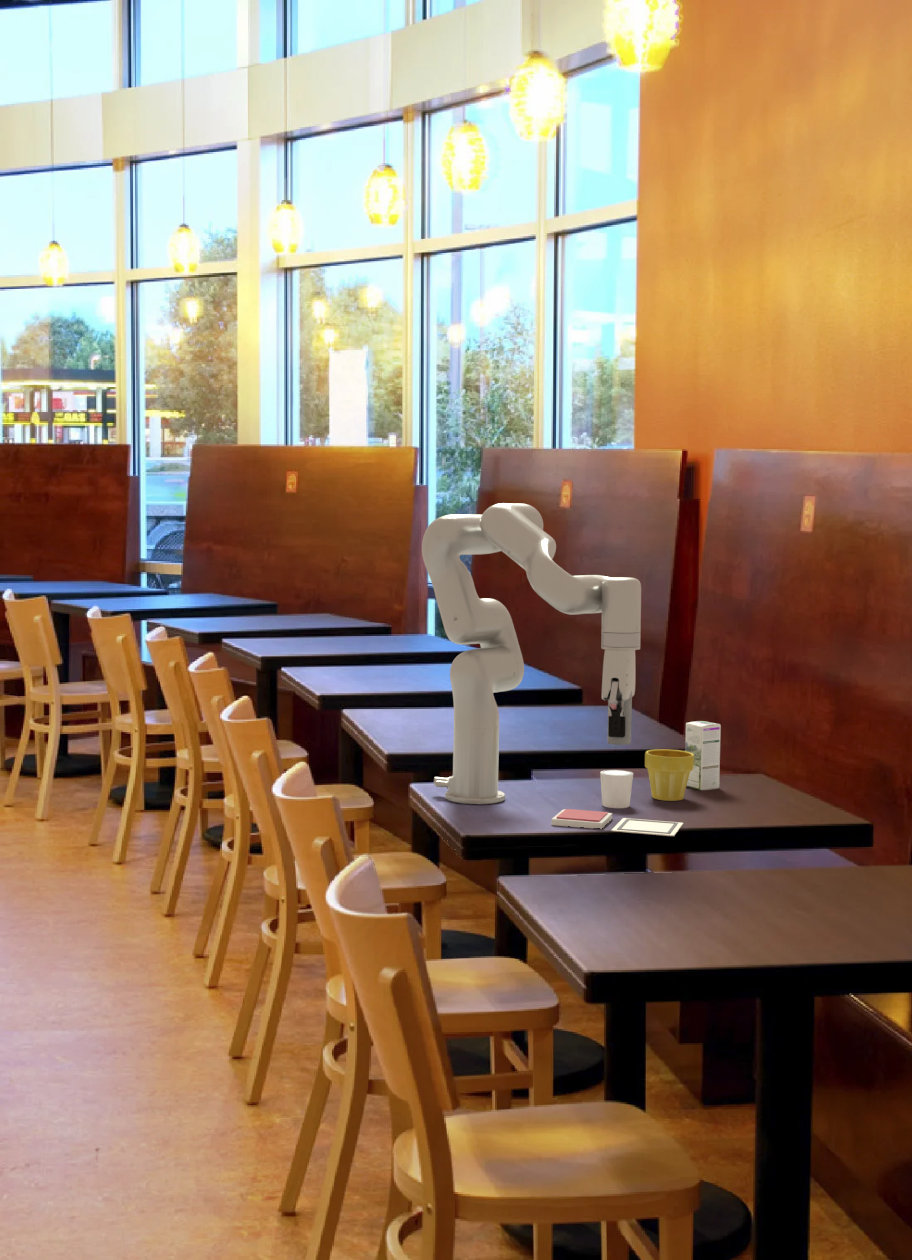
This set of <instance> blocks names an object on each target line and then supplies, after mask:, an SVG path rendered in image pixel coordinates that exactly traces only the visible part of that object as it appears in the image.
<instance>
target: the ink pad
mask: <svg viewBox="0 0 912 1260" xmlns="http://www.w3.org/2000/svg"><path fill="white" fill-rule="evenodd" d="M611 819H612V820H613V812H608V811H598V810H586V809H585V810H584V809H571V808H565V809H562V810H560V811H559V812H558V813H557V814H556V815H555V816H553V817H552V818H551V822H550V823H551V824H550V825H551V826H558V827H568V826H570V827H571V828H580V827H584V828H583V829H593V828H600V829H599V830H603V829H604V828H605V827H606V826H607V825H608V824H609V823H610V822H611V821H612V820H611ZM609 821H610V822H609ZM607 823H608V824H607ZM606 824H607V825H606ZM605 825H606V826H605ZM570 827H569V828H570ZM602 828H603V829H602Z"/></svg>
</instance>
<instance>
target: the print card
mask: <svg viewBox="0 0 912 1260" xmlns="http://www.w3.org/2000/svg"><path fill="white" fill-rule="evenodd" d="M683 825H684V822H681V821H680V822H677V821H666V820H665V821H664V820H655V819H654V820H652V819H640V818H628V817H622V818H621V820H620V821H619V822H617V823H616V824H615V826H614V827H613V828H612V829H611V830H610V831H611V832H616V833H617V832H618V833H629V834H640V835H642V834H643V835H653V836H655V835H656V836H663V837H665V836H666V837H675V835H676V834H677V833H678V832H679V831H680V829H681V828H682V826H683Z"/></svg>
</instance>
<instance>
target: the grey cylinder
mask: <svg viewBox="0 0 912 1260" xmlns="http://www.w3.org/2000/svg"><path fill="white" fill-rule="evenodd" d="M609 696H610V691H609ZM609 700H610V697H608V700H607V703H608V704H607V723H608V722H609ZM617 700H622V698H621V697H618V698H617ZM632 701H633V697H632V691H631V694H630V698H629V699H628V700H626V701H625V705H624V717H625V737H623V738H621V737H609V736H608V735H607V739H606V740H607V744H609V745H617V746H625V745H630V744H631V743H632V715H633V714H632V713H633V711H632V710H633V709H632V708H633V705H632V704H633V702H632ZM619 705H620V708H621V704H619Z"/></svg>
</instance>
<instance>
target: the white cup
mask: <svg viewBox="0 0 912 1260" xmlns="http://www.w3.org/2000/svg"><path fill="white" fill-rule="evenodd" d="M599 776H600V788H601V789H600V792H601V805H602V806H603V807H604V808H605V807H606V808H611V809H626V808H629V807H630V804H631V794H632V788H633V787H632V786H633V779H634V772H632V771H629V770H622V769H604V770H601V771H600V772H599Z"/></svg>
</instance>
